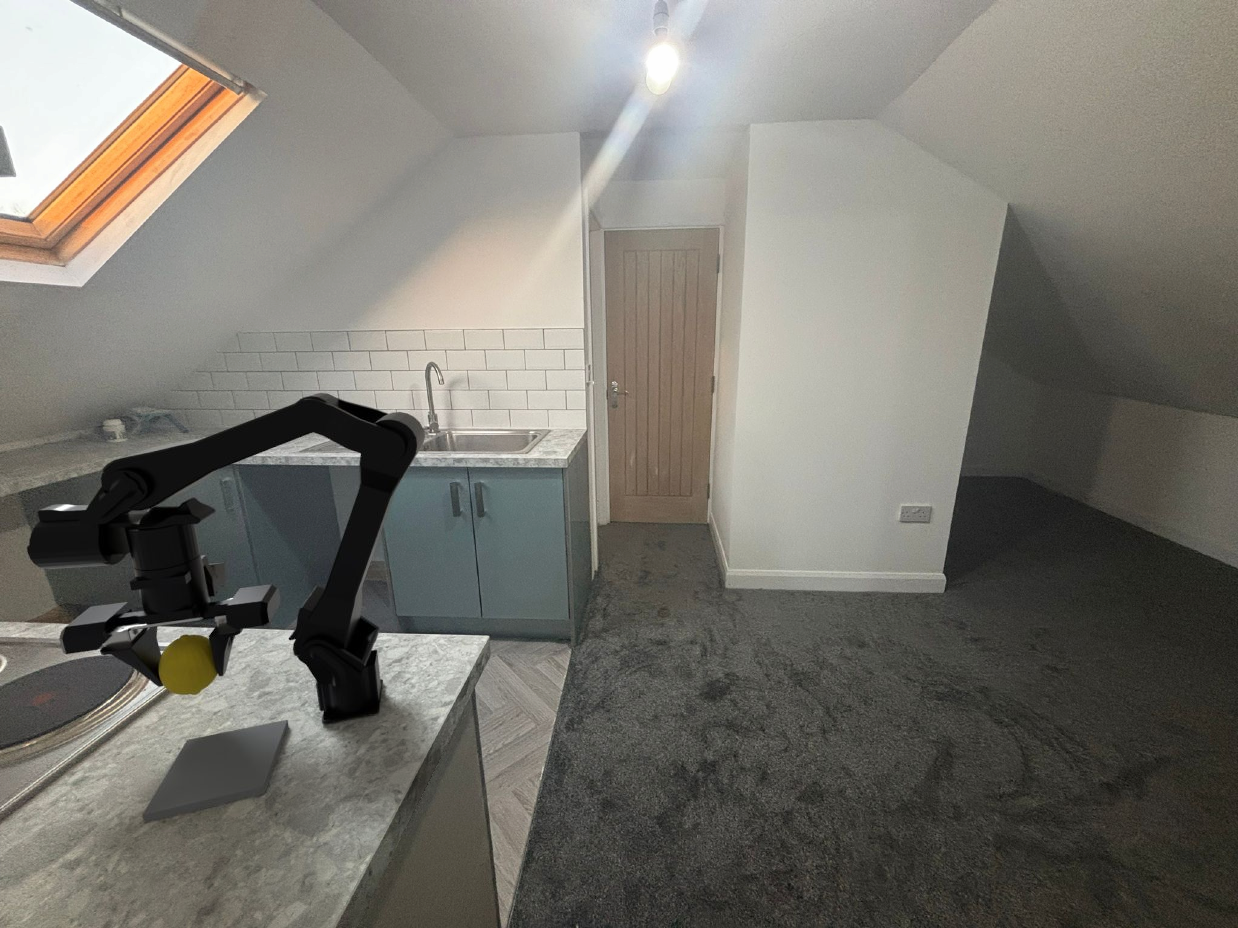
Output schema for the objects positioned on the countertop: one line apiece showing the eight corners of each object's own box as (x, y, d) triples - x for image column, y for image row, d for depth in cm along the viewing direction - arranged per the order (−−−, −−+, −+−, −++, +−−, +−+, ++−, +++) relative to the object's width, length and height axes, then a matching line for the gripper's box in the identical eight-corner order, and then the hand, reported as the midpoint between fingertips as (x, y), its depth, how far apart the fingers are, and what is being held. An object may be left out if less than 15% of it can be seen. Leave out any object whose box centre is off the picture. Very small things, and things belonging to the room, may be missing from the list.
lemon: (192, 713, 58) (178, 652, 56) (153, 705, 59) (139, 645, 57) (236, 682, 63) (225, 625, 61) (200, 675, 64) (188, 619, 62)
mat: (288, 726, 62) (287, 719, 62) (264, 793, 53) (262, 786, 52) (188, 746, 58) (187, 739, 58) (144, 822, 49) (142, 814, 49)
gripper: (283, 526, 67) (298, 629, 71) (103, 542, 61) (131, 655, 65) (257, 560, 57) (276, 678, 61) (39, 583, 51) (76, 714, 55)
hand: (193, 679), depth 61 cm, fingers closed on lemon, 5 cm apart
